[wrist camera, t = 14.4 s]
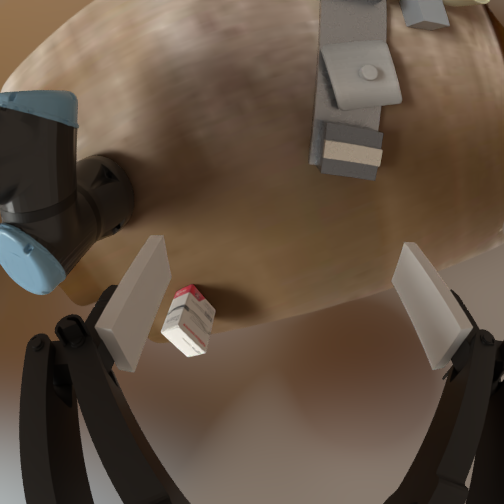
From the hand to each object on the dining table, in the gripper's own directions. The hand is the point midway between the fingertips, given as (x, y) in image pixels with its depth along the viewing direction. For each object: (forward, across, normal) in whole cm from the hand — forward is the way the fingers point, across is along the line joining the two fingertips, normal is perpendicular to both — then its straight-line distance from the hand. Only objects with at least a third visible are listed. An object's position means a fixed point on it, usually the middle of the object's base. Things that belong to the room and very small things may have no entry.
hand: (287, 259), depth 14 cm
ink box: (+30, -15, -32) cm, 46 cm away
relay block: (+29, +23, +27) cm, 46 cm away
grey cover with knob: (+29, +10, +16) cm, 34 cm away
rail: (+30, +11, +16) cm, 35 cm away
